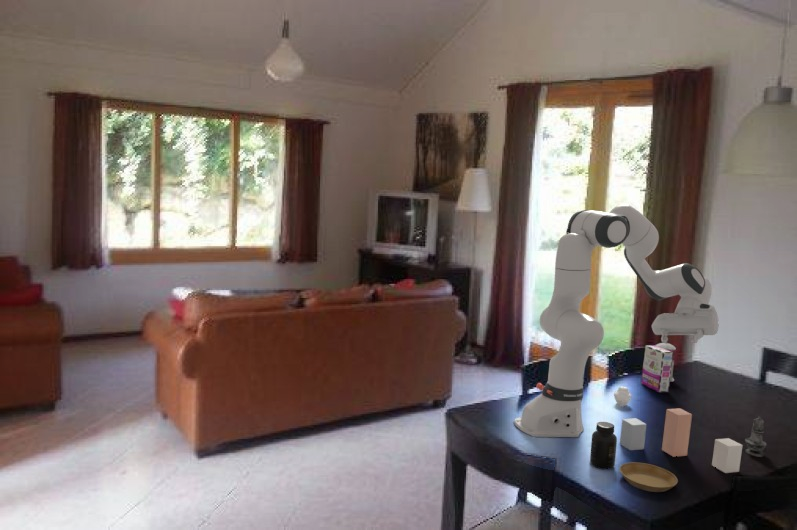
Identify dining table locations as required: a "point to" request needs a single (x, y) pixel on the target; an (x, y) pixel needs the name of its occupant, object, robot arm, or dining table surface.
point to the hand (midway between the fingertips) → (678, 341)
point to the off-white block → (727, 455)
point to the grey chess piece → (756, 439)
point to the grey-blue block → (633, 434)
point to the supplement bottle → (603, 446)
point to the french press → (671, 347)
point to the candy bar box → (657, 368)
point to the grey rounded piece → (622, 396)
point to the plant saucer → (648, 476)
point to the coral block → (676, 432)
